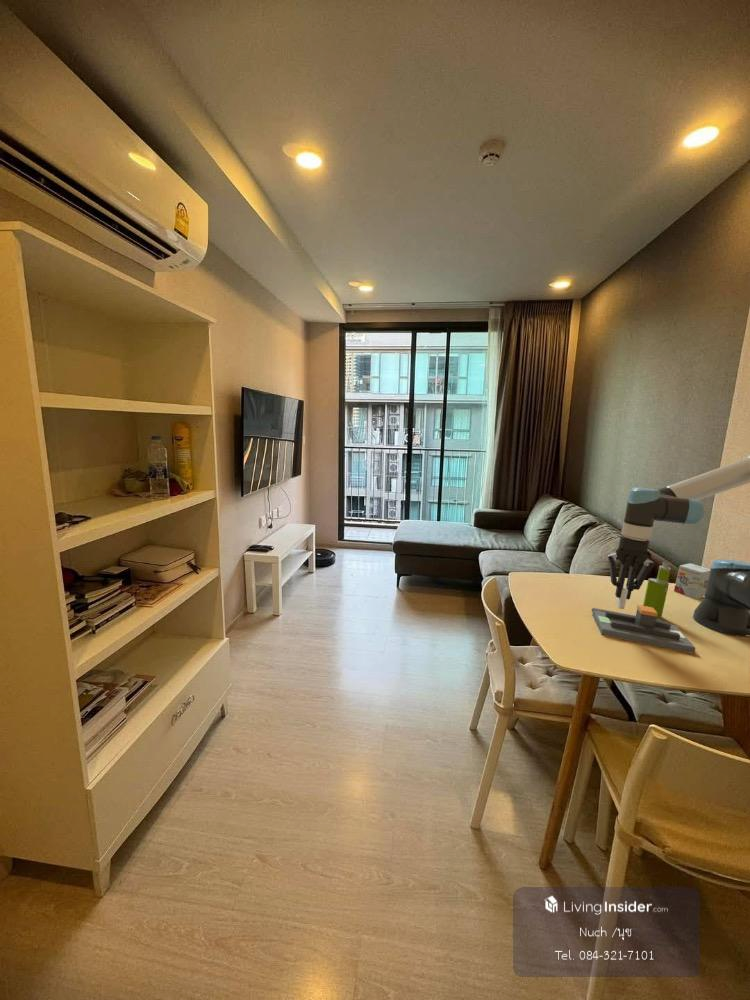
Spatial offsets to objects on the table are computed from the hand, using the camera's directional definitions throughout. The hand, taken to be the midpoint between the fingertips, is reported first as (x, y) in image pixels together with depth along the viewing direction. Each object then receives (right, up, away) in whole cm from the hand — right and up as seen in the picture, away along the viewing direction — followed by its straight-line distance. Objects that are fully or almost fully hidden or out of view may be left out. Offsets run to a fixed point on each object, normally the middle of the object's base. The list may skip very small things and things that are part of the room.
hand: (620, 607), depth 121 cm
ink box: (+52, -5, +35) cm, 63 cm away
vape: (+20, -7, +13) cm, 25 cm away
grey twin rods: (+9, -7, +8) cm, 14 cm away
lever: (+7, -6, -1) cm, 9 cm away
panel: (+6, -8, -1) cm, 10 cm away
